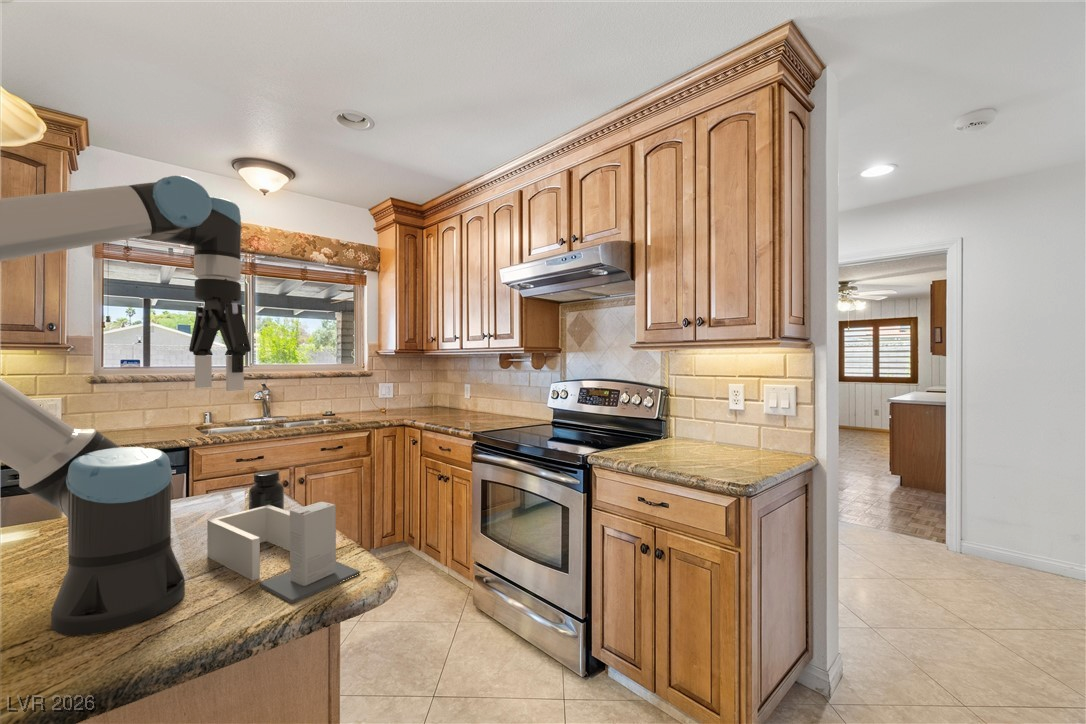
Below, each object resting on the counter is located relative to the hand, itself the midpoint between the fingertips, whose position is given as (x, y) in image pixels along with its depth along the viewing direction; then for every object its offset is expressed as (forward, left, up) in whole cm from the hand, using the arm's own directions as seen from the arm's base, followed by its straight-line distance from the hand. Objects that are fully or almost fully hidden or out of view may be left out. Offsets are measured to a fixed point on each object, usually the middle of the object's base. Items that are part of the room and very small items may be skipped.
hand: (218, 389), depth 94 cm
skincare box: (+3, -28, -31) cm, 42 cm away
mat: (+3, -27, -32) cm, 42 cm away
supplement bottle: (+12, +6, -32) cm, 35 cm away
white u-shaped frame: (+3, -10, -32) cm, 34 cm away
